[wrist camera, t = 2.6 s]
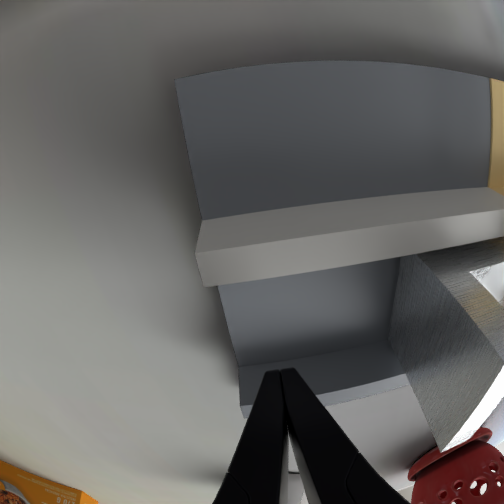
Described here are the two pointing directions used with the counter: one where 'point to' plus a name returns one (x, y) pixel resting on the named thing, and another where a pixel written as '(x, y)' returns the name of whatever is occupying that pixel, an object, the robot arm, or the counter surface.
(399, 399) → the counter surface
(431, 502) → the plant pot
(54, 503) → the cereal box
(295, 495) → the flask
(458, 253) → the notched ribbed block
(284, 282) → the bench
